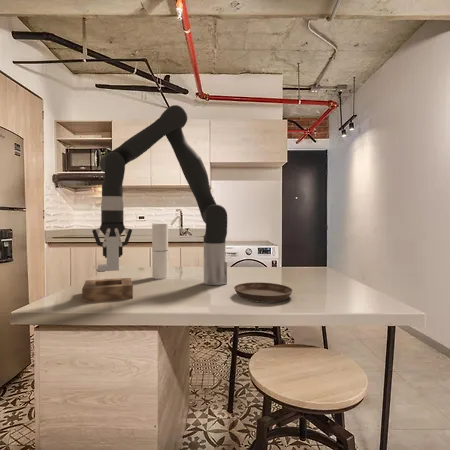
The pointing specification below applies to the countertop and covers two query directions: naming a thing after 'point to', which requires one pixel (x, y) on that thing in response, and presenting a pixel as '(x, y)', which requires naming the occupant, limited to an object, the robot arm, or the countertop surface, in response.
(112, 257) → the grey block
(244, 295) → the plant saucer
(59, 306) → the countertop surface
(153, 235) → the cylindrical container
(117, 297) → the well block
